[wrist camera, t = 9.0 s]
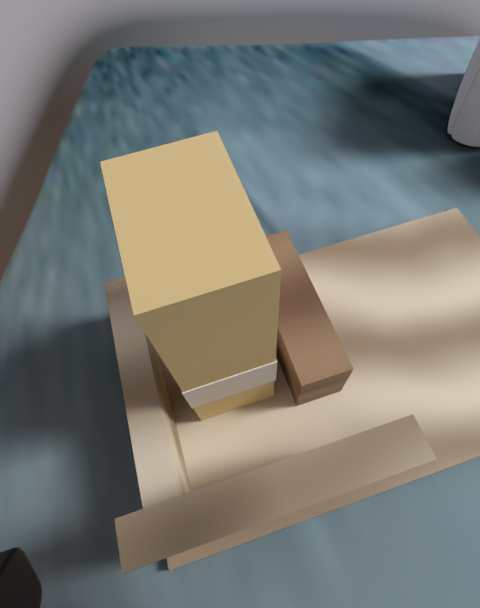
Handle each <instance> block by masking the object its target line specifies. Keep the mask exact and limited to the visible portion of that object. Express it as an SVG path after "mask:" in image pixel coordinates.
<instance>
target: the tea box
mask: <svg viewBox="0 0 480 608" xmlns="http://www.w3.org/2000/svg"><path fill="white" fill-rule="evenodd" d="M100 163H101V168H102V172H103V177H104V182H105V186H106V191H107V195H108V200H109V205H110V209H111V214H112V218H113V223H114V227H115V232H116V237H117V241H118V246H119V250H120V255H121V260H122V264H123V269H124V273H125V278H126V283H127V287H128V292H129V296H130V301H131V305H132V310H133V315H134V317H135V318H136V320H137V321H138V323H139V325H140V326H141V328H142V329H143V331H144V332H145V334H146V335H147V337H148V339H149V340H150V342H151V343H152V345H153V346H154V348H155V350H156V351H157V353H158V354H159V356H160V357H161V359H162V360H163V362H164V364H165V365H166V367H167V368H168V370H169V371H170V373H171V374H172V376H173V378H174V379H175V381H176V382H177V384H178V385H179V387H180V388H181V392H182V394H183V396H184V398H185V399H186V401H187V402H188V404H189V405H190V407H191V408H193V409H194V410H195V412H196V413H197V415H198V416H199V418H200V420H201V421H203V420H206V419H209V418H211V417H214V416H217V415H220V414H223V413H226V412H229V411H232V410H235V409H238V408H240V407H243V406H246V405H249V404H252V403H255V402H258V401H261V400H264V399H267V398H270V397H272V396H274V381H275V380H276V372H277V360H276V348H277V332H278V316H279V299H280V283H281V268H280V266H279V264H278V262H277V259H276V257H275V255H274V253H273V251H272V249H271V246H270V244H269V242H268V240H267V238H266V236H265V233H264V231H263V229H262V227H261V225H260V223H259V220H258V218H257V216H256V214H255V212H254V210H253V207H252V205H251V203H250V201H249V199H248V197H247V194H246V192H245V190H244V188H243V186H242V184H241V182H240V179H239V177H238V175H237V173H236V171H235V169H234V166H233V164H232V162H231V160H230V158H229V156H228V153H227V151H226V149H225V147H224V145H223V143H222V140H221V138H220V136H219V134H218V132H217V131H214V132H211V133H207V134H203V135H199V136H196V137H192V138H188V139H184V140H181V141H177V142H173V143H169V144H166V145H162V146H158V147H154V148H150V149H147V150H143V151H139V152H135V153H132V154H128V155H124V156H120V157H117V158H113V159H109V160H105V161H102V162H100Z"/></svg>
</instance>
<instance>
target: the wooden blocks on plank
mask: <svg viewBox="0 0 480 608" xmlns="http://www.w3.org/2000/svg"><path fill="white" fill-rule="evenodd" d="M266 238H267V240H268V242H269V244H270V246H271V249H272V251H273V253H274V255H275V257H276V259H277V262H278V264H279V266H280V268H281V283H280V299H279V316H278V332H277V348H276V360H277V372H276V380H275V381H274V396H272V397H270V398H267V399H264V400H261V401H258V402H255V403H252V404H249V405H246V406H243V407H240V408H238V409H235V410H232V411H229V412H226V413H223V414H220V415H217V416H214V417H211V418H209V419H206V420H203V421H201V420H200V418H199V416H198V415H197V413H196V412H195V410H194V409H193V408H191V407H190V405H189V404H188V402H187V401H186V399H185V398H184V396H183V394H182V392H181V388H180V387H179V385H178V384H177V382H176V381H175V379H174V378H173V376H172V374H171V373H170V371H169V370H168V368H167V367H166V365H165V364H164V362H163V360H162V359H161V357H160V356H159V354H158V353H157V351H156V350H155V348H154V346H153V345H152V343H151V342H150V340H149V339H148V337H147V335H146V334H145V332H144V331H143V329H142V328H141V326H140V325H139V323H138V321H137V320H136V318H135V317H134V315H133V310H132V305H131V301H130V296H129V292H128V287H127V283H126V278H125V277H123V278H120V279H116V280H113V281H109V282H106V283H104V285H105V291H106V296H107V302H108V308H109V314H110V320H111V326H112V331H113V337H114V343H115V349H116V355H117V361H118V367H119V372H120V378H121V384H122V390H123V396H124V402H125V407H126V413H127V419H128V425H129V431H130V437H131V443H132V448H133V454H134V460H135V466H136V472H137V478H138V483H139V489H140V495H141V501H142V507H143V509H141V510H138V511H135V512H132V513H129V514H127V515H124V516H121V517H118V518H115V519H114V520H115V527H116V534H117V542H118V549H119V556H120V563H121V571H122V574H124V573H127V572H130V571H132V570H135V569H138V568H141V567H143V566H146V565H149V564H151V563H154V562H157V561H160V560H162V559H165V558H167V564H168V569H169V570H172V569H175V568H178V567H180V566H183V565H186V564H188V563H191V562H194V561H197V560H199V559H202V558H205V557H207V556H210V555H213V554H216V553H218V552H221V551H224V550H226V549H229V548H232V547H235V546H237V545H240V544H243V543H245V542H248V541H251V540H254V539H256V538H259V537H262V536H264V535H267V534H270V533H273V532H275V531H278V530H281V529H283V528H286V527H289V526H291V525H294V524H297V523H300V522H302V521H305V520H308V519H310V518H313V517H316V516H319V515H321V514H324V513H327V512H329V511H332V510H335V509H338V508H340V507H343V506H346V505H348V504H351V503H354V502H357V501H359V500H362V499H365V498H367V497H370V496H373V495H376V494H378V493H381V492H384V491H386V490H389V489H392V488H395V487H397V486H400V485H403V484H405V483H408V482H411V481H414V480H416V479H419V478H422V477H424V476H427V475H430V474H433V473H435V472H438V471H441V470H443V469H446V468H449V467H451V466H454V465H457V464H460V463H462V462H465V461H468V460H470V459H473V458H476V457H479V456H480V236H479V235H478V234H477V232H476V231H475V230H474V229H473V227H472V226H471V225H470V224H469V222H468V221H467V220H466V219H465V217H464V216H463V215H462V214H461V212H460V211H459V210H458V209H457V208H454V209H451V210H447V211H444V212H441V213H437V214H434V215H431V216H427V217H424V218H420V219H417V220H414V221H410V222H407V223H404V224H400V225H397V226H394V227H390V228H387V229H383V230H380V231H377V232H373V233H370V234H367V235H363V236H360V237H357V238H353V239H350V240H346V241H343V242H340V243H336V244H333V245H330V246H326V247H323V248H319V249H316V250H313V251H309V252H306V253H303V254H299V255H298V253H297V251H296V249H295V247H294V245H293V243H292V241H291V239H290V237H289V235H288V232H287V230H285V231H282V232H278V233H275V234H272V235H268V236H266Z"/></svg>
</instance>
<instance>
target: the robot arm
mask: <svg viewBox="0 0 480 608" xmlns="http://www.w3.org/2000/svg"><path fill="white" fill-rule="evenodd" d="M41 598H42V589H41V584H40V581H39V579H38V577H37V575H36V573H35V571H34V569H33V567H32V565H31V563H30V561H29V559H28V558H27V556H26V554H25V552H24V551H23V550H22V549H21V548H12V549H9V550H6V551H3V552H0V608H40V605H41Z"/></svg>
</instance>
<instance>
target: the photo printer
mask: <svg viewBox="0 0 480 608" xmlns="http://www.w3.org/2000/svg"><path fill="white" fill-rule="evenodd" d="M448 134H451V135H452V138H453V139H454V140H456V141H457V142H459V143H461V144H464V145H468V146H473V147H480V39H479V41H478V44H477V46H476V48H475V51H474V53H473V55H472V58H471V60H470V62H469V65H468V67H467V70H466V72H465V74H464V77H463V79H462V82H461V84H460V87H459V90H458V93H457V96H456V99H455V102H454V105H453V108H452V111H451V115H450V118H449V123H448Z"/></svg>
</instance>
